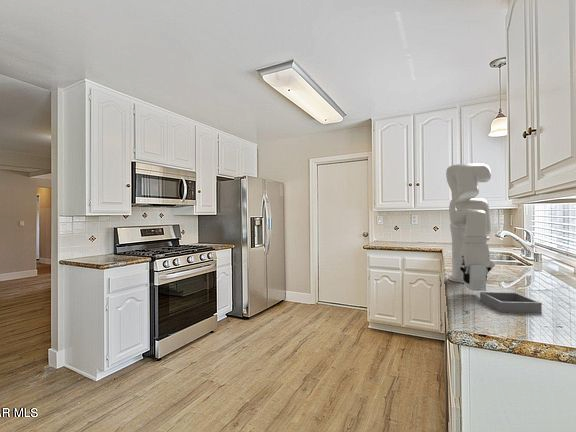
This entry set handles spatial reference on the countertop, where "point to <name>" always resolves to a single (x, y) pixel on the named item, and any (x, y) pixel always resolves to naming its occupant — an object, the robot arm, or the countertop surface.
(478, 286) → the small box
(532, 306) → the tray
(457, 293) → the countertop surface
